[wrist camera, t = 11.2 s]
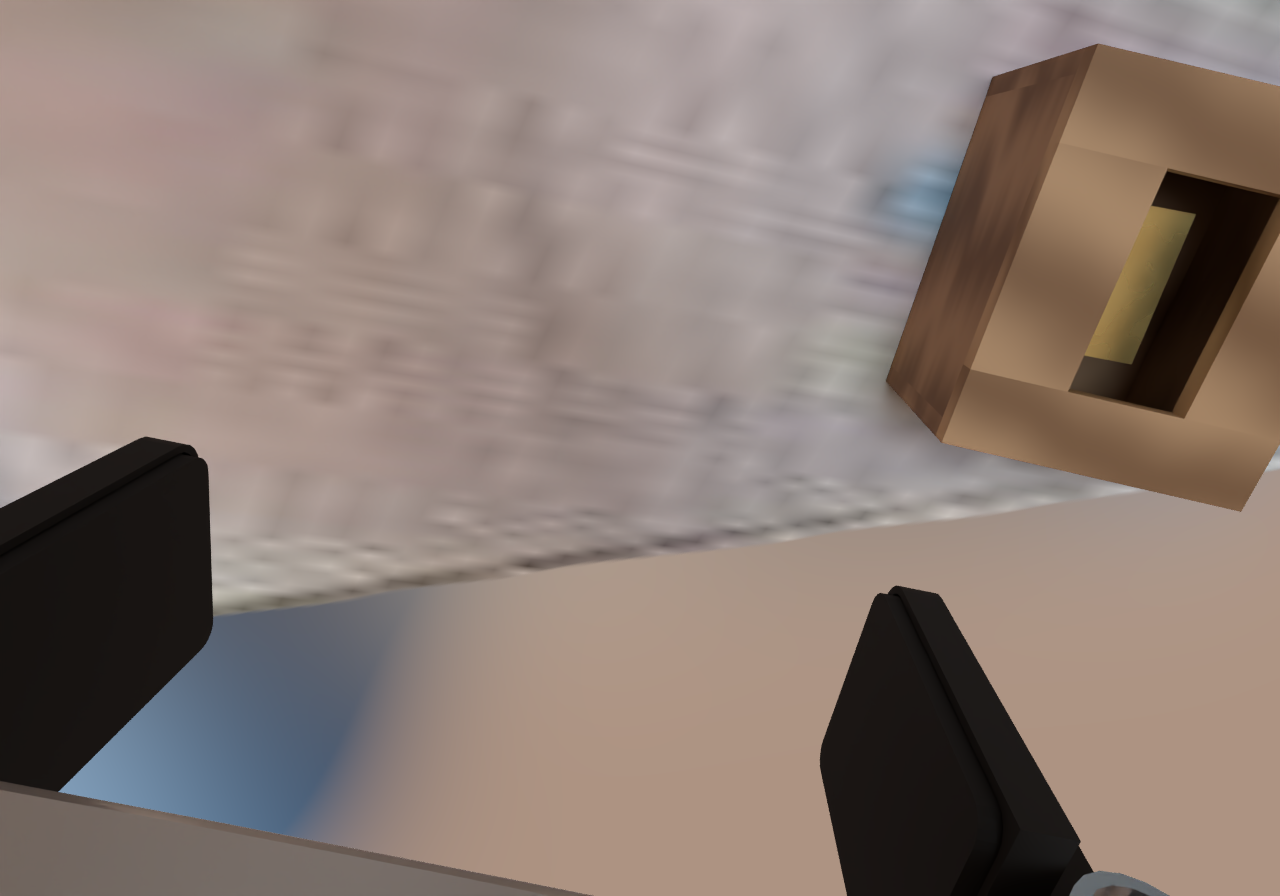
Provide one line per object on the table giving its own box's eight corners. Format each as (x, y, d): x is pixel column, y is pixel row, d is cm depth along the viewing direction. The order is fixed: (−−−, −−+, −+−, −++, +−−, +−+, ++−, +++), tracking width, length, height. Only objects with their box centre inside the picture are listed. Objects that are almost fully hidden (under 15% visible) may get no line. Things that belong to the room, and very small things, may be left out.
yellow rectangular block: (1058, 195, 33) (1118, 199, 28) (1125, 208, 33) (1196, 214, 28) (1011, 326, 35) (1059, 350, 30) (1073, 338, 35) (1131, 364, 30)
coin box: (992, 76, 32) (1098, 43, 24) (1260, 139, 32) (1459, 129, 24) (886, 380, 37) (941, 442, 29) (1118, 434, 37) (1241, 511, 29)
